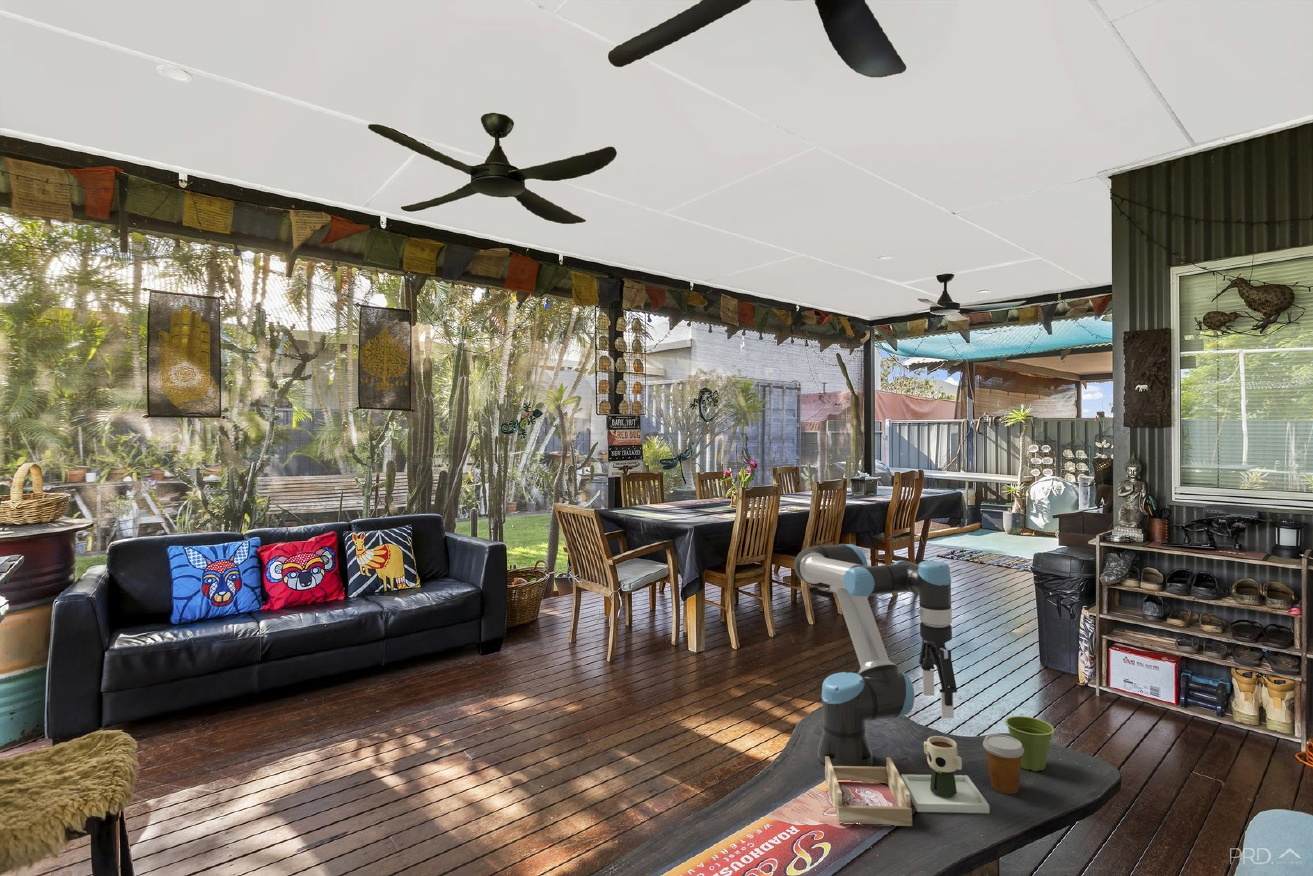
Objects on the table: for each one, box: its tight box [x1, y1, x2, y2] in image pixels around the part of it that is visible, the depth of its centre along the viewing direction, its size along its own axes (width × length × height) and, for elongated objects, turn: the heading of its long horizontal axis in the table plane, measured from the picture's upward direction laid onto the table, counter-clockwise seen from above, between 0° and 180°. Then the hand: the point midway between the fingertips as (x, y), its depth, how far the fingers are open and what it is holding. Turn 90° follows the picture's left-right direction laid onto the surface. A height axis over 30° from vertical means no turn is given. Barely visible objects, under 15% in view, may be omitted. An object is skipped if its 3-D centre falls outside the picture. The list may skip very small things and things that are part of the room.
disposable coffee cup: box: [982, 733, 1024, 795], centre depth 171 cm, size 10×10×12 cm
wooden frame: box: [824, 756, 913, 827], centre depth 166 cm, size 20×17×7 cm
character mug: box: [923, 735, 963, 797], centre depth 167 cm, size 11×7×13 cm, turn 29°
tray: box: [900, 773, 990, 814], centre depth 167 cm, size 14×17×2 cm
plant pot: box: [1004, 715, 1055, 772], centre depth 182 cm, size 12×12×11 cm
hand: (937, 706), depth 168 cm, fingers open, 13 cm apart
